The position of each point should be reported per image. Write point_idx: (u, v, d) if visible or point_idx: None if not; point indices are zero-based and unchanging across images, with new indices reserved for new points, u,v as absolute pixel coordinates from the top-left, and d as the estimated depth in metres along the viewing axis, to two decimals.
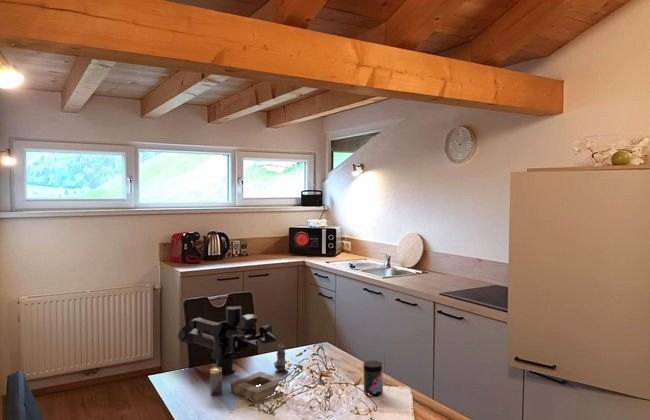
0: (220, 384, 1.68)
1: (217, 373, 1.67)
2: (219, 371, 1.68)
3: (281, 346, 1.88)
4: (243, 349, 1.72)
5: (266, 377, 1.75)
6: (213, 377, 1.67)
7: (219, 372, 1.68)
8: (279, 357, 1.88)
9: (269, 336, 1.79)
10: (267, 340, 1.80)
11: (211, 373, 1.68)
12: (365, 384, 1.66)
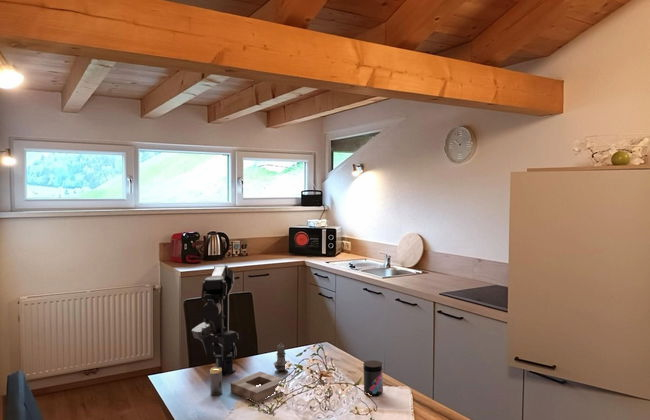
0: (220, 384, 1.68)
1: (217, 373, 1.67)
2: (219, 371, 1.68)
3: (281, 346, 1.88)
4: None
5: (266, 377, 1.75)
6: (213, 377, 1.67)
7: (219, 372, 1.68)
8: (279, 357, 1.88)
9: None
10: None
11: (211, 373, 1.68)
12: (365, 384, 1.66)
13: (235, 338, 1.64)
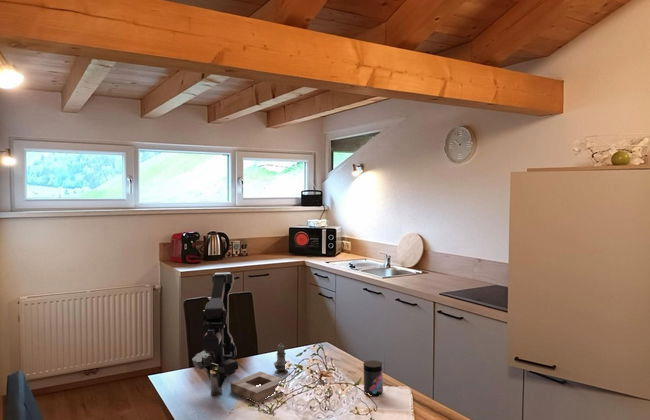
0: None
1: None
2: None
3: (281, 346, 1.88)
4: None
5: (266, 377, 1.75)
6: (213, 377, 1.67)
7: None
8: (279, 357, 1.88)
9: None
10: None
11: (211, 373, 1.68)
12: (365, 384, 1.66)
13: (235, 367, 1.64)
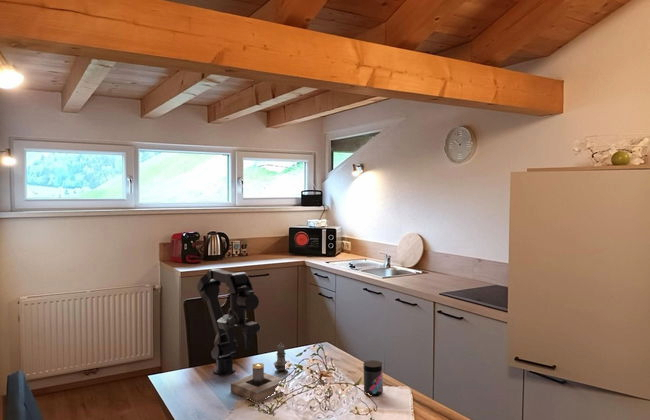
0: (263, 379, 1.70)
1: (260, 369, 1.69)
2: (262, 367, 1.70)
3: (281, 346, 1.88)
4: None
5: (266, 377, 1.75)
6: (256, 372, 1.69)
7: (261, 368, 1.70)
8: (279, 357, 1.88)
9: None
10: None
11: (254, 369, 1.69)
12: (365, 384, 1.66)
13: (257, 328, 1.75)
